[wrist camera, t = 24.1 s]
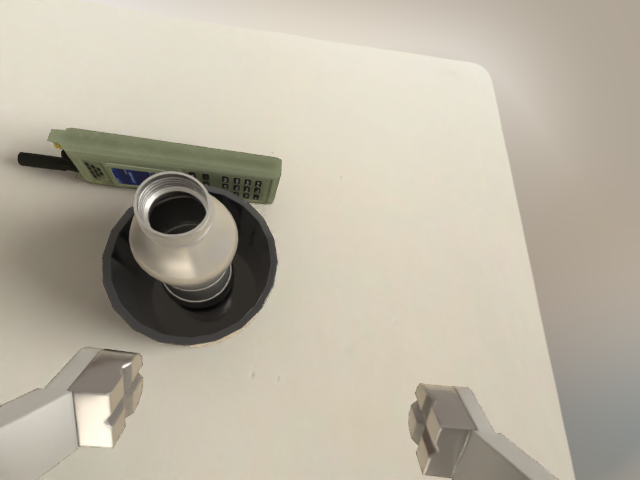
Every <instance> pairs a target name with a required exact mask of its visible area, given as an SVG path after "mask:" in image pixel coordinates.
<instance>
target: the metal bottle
mask: <svg viewBox="0 0 640 480" xmlns="http://www.w3.org/2000/svg"><path fill="white" fill-rule="evenodd" d="M133 208H134V213H135V215H134V217H133V220H132V223H131V227H130V232H129V242H130V247H131V251H132V253H133V256H134V258H135V260H136V261H137V263H138V264H139V265H140V267H141V268H142V269H143V270H145V271H146V272H147V273H148V274H149V275H151V276H152V277H154V278H156V279H157V280H159V281H161V283H162V286H163V288H164V291H165V292H166V293H167V295H168V296H169V297H170V298H171V299H172V300H173V301H175V302H176V303H178V304H180V305H182V306H185V307H189V308H205V307H209V306H212V305H214V304H216V303H218V302H219V301H221V300H222V299H223V298H224V297H225V296H226V295H227V294H228V292H229V291H230V289H231V287H232V285H233V282H234V267H233V263H232V260H233V257H234V255H235V252H236V250H237V245H238V230H237V226H236V223H235V221H234V219H233V217H232V215H231V213H230V212H229V211H228V209H227V208H226V207H225V206H224V205H223V204H222V203H221V202H220V201H218V200H217V199H216V198H215V197H213V196H211V195H210V194H209V193H208V191H207V190H206V188H205V187H204V186H203V184H202V183H200V182H199V181H198V180H197V179H195V178H194V177H192V176H190V175H188V174H185V173H181V172H175V171H167V172H161V173H157V174H154V175H152V176H150V177H149V178H147V179H146V180H145V181H143V182H142V183H141V185H140V186H139V187H138V189H137V190H136V192H135V195H134V199H133Z"/></svg>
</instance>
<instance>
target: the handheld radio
mask: <svg viewBox="0 0 640 480" xmlns="http://www.w3.org/2000/svg"><path fill="white" fill-rule="evenodd" d="M47 141H51V142H54V146H55V147H56V148H60V149H63V150H62V151H61V156H62V157H54V156H47V155H39V154H32V153H24V152H20V153H19V154H18V163H19V164H20V165H22V166H30V167H39V168H47V169H55V170H63V171H66V170H71V171H74V172H77V174H76V178H81V179H85V180H86V181H87V182H89V183H97V184H105V185H113V186H122V187H130V188H138V187H139V186H140V185H141V183H142V182H143V181H145V180H146V179H147V178H149V177H150V176H152V175H154V174H157V173H161V172H167V171H175V172H181V173H185V174H188V175H190V176H192V177H194V178H195V179H197V180H198V181H199V182H200V183H202V184H204V185H208V186H213V187H217V188H222V189H225V190H228V191H229V192H231V193H233V194H235V195H237V196H239V197H240V198H242V199H244V200H246V201H249V202H258V203H267V204H271V203H273V201H274V197H275V194H276V190H277V187H278V183H279V180H280V176H281V165H282V161H281V159H279V158H276V157H270V156H263V155H256V154H249V153H243V152H236V151H228V150H221V149H214V148H207V147H200V146H193V145H187V144H180V143H173V142H166V141H159V140H152V139H145V138H138V137H131V136H125V135H118V134H111V133H104V132H97V131H90V130H83V129H76V128H68V129H66V130H53V129H51V132H50V134H49V137H48V140H47Z"/></svg>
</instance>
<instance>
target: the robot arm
mask: <svg viewBox="0 0 640 480" xmlns="http://www.w3.org/2000/svg"><path fill="white" fill-rule="evenodd" d="M142 365H143V363H142V355H141V354H140V353H133V352H125V351H117V350H110V349H99V348H91V347H84V348H82V349H80V350H79V351H78V352H77V353H76V354H75V355H74V357H73V358H72V359H71V360H70V361H69V362H68V363H67V364H66V365H65V366H64V367H63V368H62V369H61V371H60V372H59V373H58V374H57V375H56V376H55V377H54V378H53V379H52V380H51V381H50V382H49V384H48V385H47V386H46V387H45V388H44V389H40V388H37V389H35V390H33V391H31V392H29V393H27V394H24V395H22V396H20V397H18V398H16V399H14V400H12V401H9V402H7V403H5V404H3V405H1V406H0V480H37V479H39V478H40V477H41V476H43V475H44V474H45V473H47V472H48V471H49V470H51V469H52V468H53V467H55V466H56V465H57V464H59V463H60V462H61V461H62V460H64V459H65V458H66V457H68V456H69V455H70V454H72V453H73V452H74V451H76V450H77V449H78V446H79V447H97V448H114V446H115V444H116V442H117V441H118V439H119V437H120V435H121V434H122V432H123V430H124V428H125V427H126V425H125V418H126V417H127V416H129V415H131V414H132V413H133V412H134V411H135V409H136V407H137V405H138V403H139V400H140V397H141V394H142V388H143V377H142V376H141V375H140V373H139V370H140V369H141V367H142ZM415 395H416V398H417V401H416V402H414V403H413V404H412V405H411V408H410V411H409V421H408V424H409V431H410V435H411V438H412V440H413V441H414V442H415V443H416V444H417V445H418V448H417V451H416V455H417V458H418V461H419V465H420V468H421V471H422V474H423V475H428V476H437V477H445V478H452V480H559V479H558V478H556V477H555V476H554V475H553V474H551V473H550V472H549V471H548V470H546V469H545V468H544V467H543V466H541V465H540V464H539V463H538V462H536V461H535V460H534V459H532V458H531V457H530V456H529V455H527V454H526V453H525V452H524V451H522V450H521V449H520V448H519V447H517V446H516V445H515V444H514V443H512V442H511V441H510V440H509V439H507V438H506V437H505V436H504V435H502V434H501V433H496V432H495V431H494V429H493V427H492V425H491V424H490V422H489V420H488V418H487V416H486V415H485V413H484V411H483V409H482V408H481V406H480V404H479V402H478V401H477V399H476V397H475V395H474V394H473V392H472V390H471V389H469V388H468V387H456V386H452V387H451V386H442V385H432V384H422V383H420V384H419V385H418V386H417V389H416V392H415Z"/></svg>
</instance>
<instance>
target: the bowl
mask: <svg viewBox="0 0 640 480" xmlns="http://www.w3.org/2000/svg"><path fill="white" fill-rule="evenodd" d="M203 186H204V187H205V188H206V190H207V191H208V193H209V194H210V195H211V196H213V197H215V198H216V199H217V200H218V201H220V202H221V203H222V204H223V205H224V206H225V207H226V208H227V209H228V211H229V212H230V213H231V215H232V217H233V219H234V221H235V223H236V226H237V230H238V245H237V250H236V252H235V255H234V257H233V260H232V263H233V267H234V282H233V285H232V287H231V289H230V291H229V292H228V294H227V295H226V296H225V297H224V298H223V299H222V300H221V301H219V302H218V303H216V304H214V305H212V306H209V307H205V308H189V307H185V306H182V305H180V304H178V303H176V302H175V301H173V300H172V299H171V298H170V297H169V296H168V295H167V293H166V292H165V291H164V288H163V286H162V283H161V281H159V280H157V279H156V278H154V277H152V276H151V275H149V274H148V273H147V272H146V271H145V270H143V269H142V268H141V267H140V265H139V264H138V263H137V261H136V260H135V258H134V256H133V253H132V251H131V247H130V242H129V232H130V227H131V223H132V220H133V217H134V215H135V213H134V208H133V206H132V207H131V208H129V209H128V210H127V211H126V212H125V214H124V215H123V216H122V218H121V219H120V220H119V221H118V223H117V224H116V225H115V227H114V228H113V229H112V231H111V233H110V236H109V239H108V242H107V245H106V248H105V250H104V253H103V257H102V262H103V284H104V287H105V289H106V292H107V294H108V297H109V299H110V301H111V304H112V306H113V308H114V310H115V311H116V312H117V313H118V314H119V315H120V316H121V317H122V318H123V319H124V320H125V321H126V322H127V324H128V325H129V326H130V327H131V328H132V329H134V330H136V331H138V332H140V333H142V334H144V335H146V336H147V337H149V338H151V339H153V340H155V341H157V342H162V343H168V344H175V345H182V346H189V347H202V346H209V345H214V344H219V343H221V342H223V341H225V340H227V339H229V338H231V337H233V336H235V335H237V334H238V333H240V332H241V331H242V330H243V329H244V328H245V327H246V326H247V325H248V324H249V323H250V322H251V321H252V320H253V319H254V318H255V317H256V315H257V314H258V313H259V311H260V310H261V309H262V307H263V305H264V303H265V302H266V300H267V298H268V296H269V294H270V292H271V290H272V288H273V286H274V281H275V275H276V270H277V264H278V263H277V262H278V261H277V254H276V247H275V241H274V238H273V236H272V234H271V232H270V230H269V228H268V226H267V224H266V222H265V220H264V218H263V217H262V216H261V215H260V214H259V213H258V212H257V211H256V210H255V209H254V208H253V207H252V206H251V205H250V204H249V203H248V202H247V201H246V200H244V199H242V198H240V197H239V196H237V195H235V194H233V193H231V192H229V191H228V190H225V189H222V188H217V187H213V186H208V185H204V184H203Z"/></svg>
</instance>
